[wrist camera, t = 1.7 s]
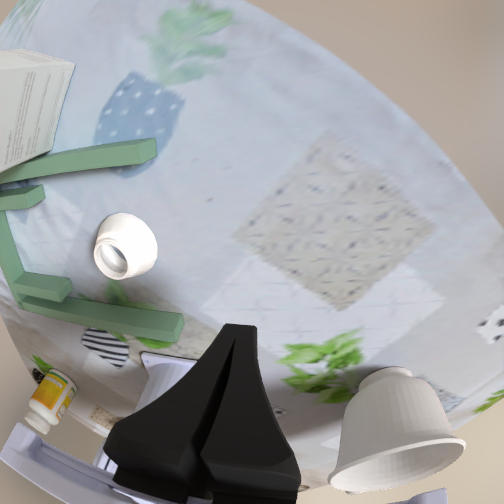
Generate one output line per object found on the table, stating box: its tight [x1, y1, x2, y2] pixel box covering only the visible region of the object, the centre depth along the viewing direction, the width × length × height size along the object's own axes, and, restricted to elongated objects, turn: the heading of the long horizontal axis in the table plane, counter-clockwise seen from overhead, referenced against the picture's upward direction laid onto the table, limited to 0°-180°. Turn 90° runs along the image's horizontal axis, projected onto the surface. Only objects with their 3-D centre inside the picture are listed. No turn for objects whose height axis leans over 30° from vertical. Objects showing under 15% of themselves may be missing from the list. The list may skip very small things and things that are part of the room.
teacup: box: [328, 367, 466, 495], centre depth 22 cm, size 12×15×10 cm
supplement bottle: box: [25, 369, 77, 434], centre depth 31 cm, size 5×5×10 cm
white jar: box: [94, 212, 157, 280], centre depth 20 cm, size 5×3×5 cm
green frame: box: [0, 138, 184, 343], centre depth 19 cm, size 15×20×8 cm
